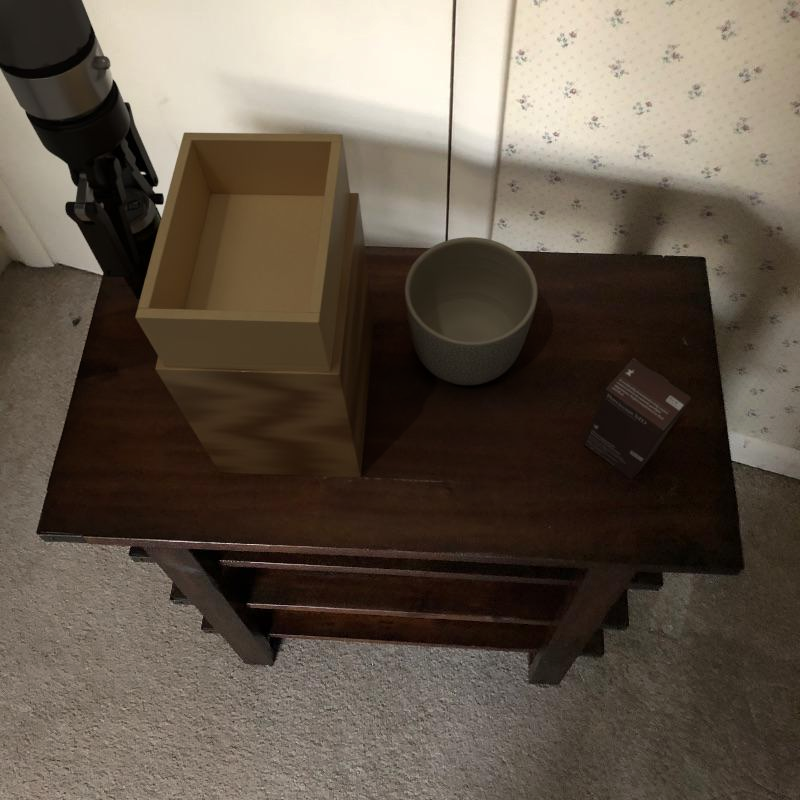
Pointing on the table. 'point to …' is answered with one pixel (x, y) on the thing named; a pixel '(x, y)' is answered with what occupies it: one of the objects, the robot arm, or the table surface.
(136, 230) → the beer can
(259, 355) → the open bin
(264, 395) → the stand
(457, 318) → the planter
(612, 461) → the box
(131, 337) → the table surface
